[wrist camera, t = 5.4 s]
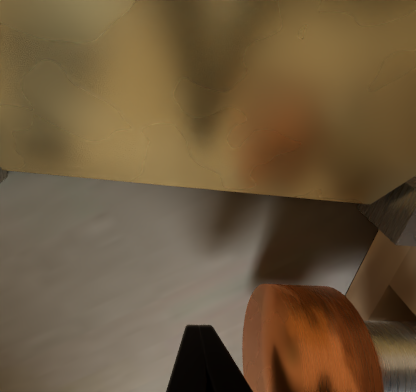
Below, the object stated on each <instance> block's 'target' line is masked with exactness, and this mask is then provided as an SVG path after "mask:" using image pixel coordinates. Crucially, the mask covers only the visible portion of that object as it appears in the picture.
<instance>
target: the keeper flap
mask: <svg viewBox="0 0 416 392" xmlns="http://www.w3.org/2000/svg"><path fill="white" fill-rule="evenodd" d="M0 167H1V169H2V170H7V171H18V172H29V173H39V174H50V175H61V176H71V177H82V178H93V179H103V180H114V181H125V182H136V183H146V184H157V185H168V186H178V187H189V188H200V189H210V190H221V191H232V192H242V193H253V194H264V195H274V196H285V197H296V198H306V199H317V200H328V201H338V202H349V203H360V204H372V203H373V202H375V201H376V200H378V199H380V198H381V197H383V196H384V195H386V194H387V193H389V192H391V191H392V190H394V189H395V188H397V187H398V186H400V185H402V184H403V183H405V182H406V181H408V180H410V179H411V178H413V177H414V176H416V0H0Z"/></svg>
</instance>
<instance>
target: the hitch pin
mask: <svg viewBox="0 0 416 392" xmlns="http://www.w3.org/2000/svg"><path fill="white" fill-rule="evenodd" d="M242 351H243V373H244V378H245V379H246V381H247V383H248V384H249V386H250V387H251V389H252V391H253V392H416V322H413V321H363V319H362V317H361V316H360V314H359V312H358V311H357V309H356V308H355V307H354V305H353V304H352V303H351V302H350V301H349V300H348V299H347V297H346V296H344V295H343V294H342V293H341V292H339V291H337V290H336V289H334V288H331V287H327V286H307V285H282V284H261V285H259V286H258V287H257V288H256V289H255V290H254V291H253V293H252V295H251V297H250V300H249V302H248V306H247V309H246V314H245V320H244V328H243V348H242Z"/></svg>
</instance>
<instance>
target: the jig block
mask: <svg viewBox="0 0 416 392" xmlns="http://www.w3.org/2000/svg"><path fill="white" fill-rule="evenodd" d="M346 297H347V299H348V300H349V301H350V302H351V303H352V304H353V305H354V307H355V308H356V309H357V311H358V312H359V314H360V316H361V317H362V319H363V321H413V322H416V246H402V245H395V244H394V243H393V242H392V241H391V240H390V239H389V238H388V237H387V236H386V235H384V234H383V233H382V232H381V231H380V230H379V231H378V232H377V234H376V236H375V238H374V240H373V242H372V244H371V246H370V248H369V250H368V252H367V254H366V256H365V258H364V260H363V262H362V264H361V266H360V268H359V270H358V272H357V274H356V276H355V278H354V280H353V282H352V284H351V286H350V288H349V290H348V292H347V294H346Z"/></svg>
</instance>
